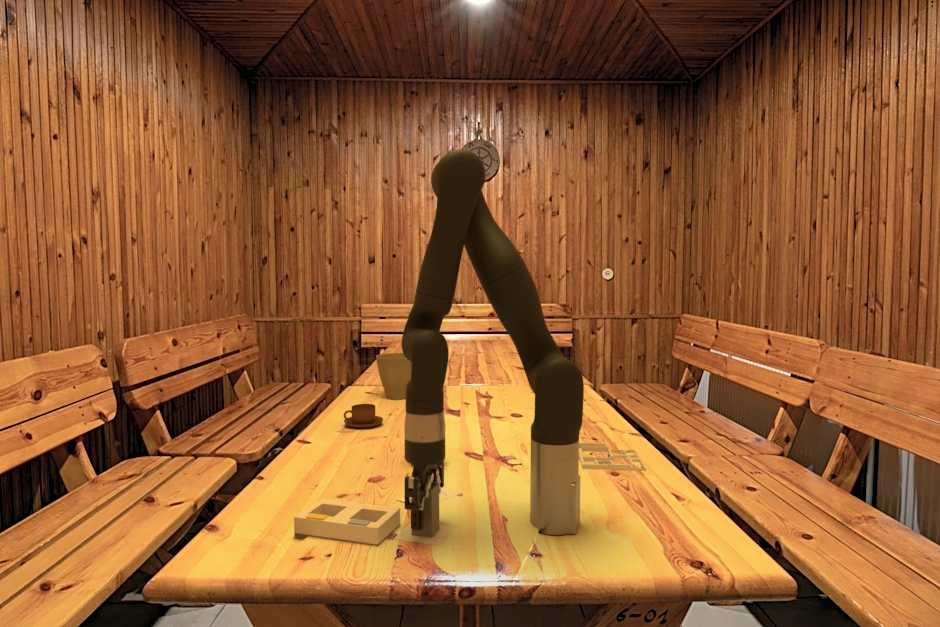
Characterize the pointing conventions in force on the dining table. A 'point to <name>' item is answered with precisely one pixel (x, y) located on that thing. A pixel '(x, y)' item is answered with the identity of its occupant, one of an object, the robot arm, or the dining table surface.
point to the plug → (430, 513)
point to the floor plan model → (608, 458)
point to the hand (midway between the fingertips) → (425, 520)
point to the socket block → (347, 522)
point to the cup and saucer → (362, 416)
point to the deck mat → (435, 540)
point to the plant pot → (394, 374)
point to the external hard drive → (441, 494)
